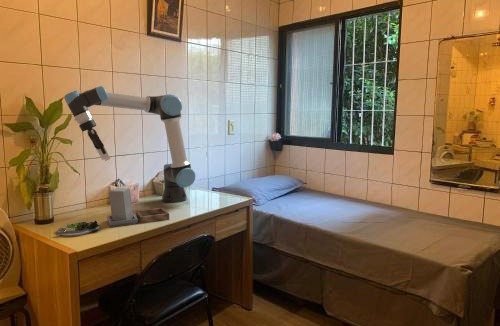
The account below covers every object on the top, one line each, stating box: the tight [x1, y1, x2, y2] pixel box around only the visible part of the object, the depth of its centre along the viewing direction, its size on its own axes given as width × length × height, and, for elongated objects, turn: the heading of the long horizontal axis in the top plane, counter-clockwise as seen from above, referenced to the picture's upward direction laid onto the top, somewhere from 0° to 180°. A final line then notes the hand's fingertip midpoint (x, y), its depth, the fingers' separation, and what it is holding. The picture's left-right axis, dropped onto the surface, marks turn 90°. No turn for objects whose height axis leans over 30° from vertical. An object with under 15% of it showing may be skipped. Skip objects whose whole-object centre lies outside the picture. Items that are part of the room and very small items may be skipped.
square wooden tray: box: [135, 207, 170, 224], centre depth 192 cm, size 14×14×3 cm
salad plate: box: [54, 219, 101, 237], centre depth 171 cm, size 19×18×5 cm
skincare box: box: [108, 187, 134, 221], centre depth 184 cm, size 8×7×16 cm
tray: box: [106, 212, 139, 228], centre depth 185 cm, size 13×13×2 cm
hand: (106, 159), depth 192 cm, fingers open, 13 cm apart
